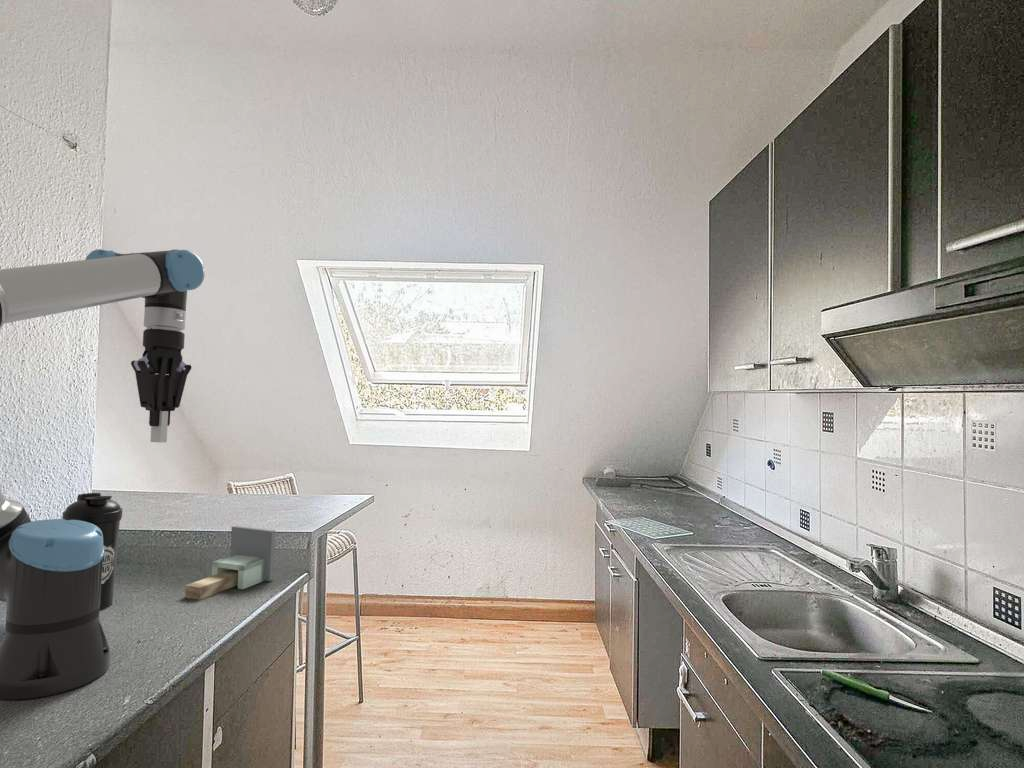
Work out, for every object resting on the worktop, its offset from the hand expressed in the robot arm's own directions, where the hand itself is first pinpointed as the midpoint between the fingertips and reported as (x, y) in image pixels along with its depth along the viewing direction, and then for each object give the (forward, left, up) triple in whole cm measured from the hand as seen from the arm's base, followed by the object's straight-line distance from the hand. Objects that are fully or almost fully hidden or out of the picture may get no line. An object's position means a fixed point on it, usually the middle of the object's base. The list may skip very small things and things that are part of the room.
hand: (158, 441), depth 123 cm
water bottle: (-4, +12, -35) cm, 37 cm away
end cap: (+20, -4, -34) cm, 40 cm away
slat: (+15, -3, -35) cm, 38 cm away
